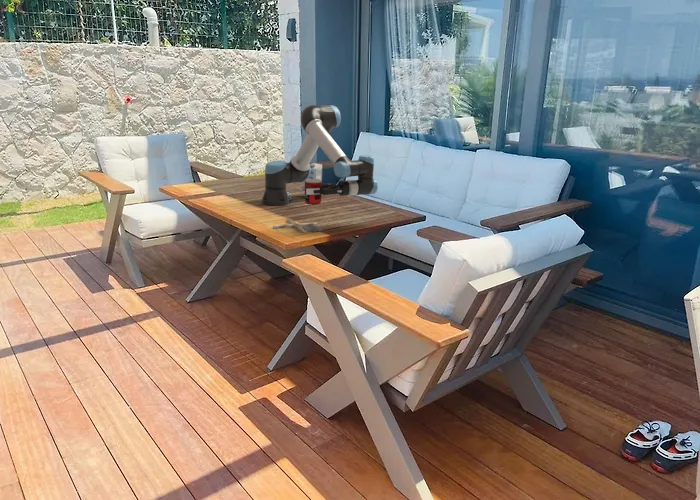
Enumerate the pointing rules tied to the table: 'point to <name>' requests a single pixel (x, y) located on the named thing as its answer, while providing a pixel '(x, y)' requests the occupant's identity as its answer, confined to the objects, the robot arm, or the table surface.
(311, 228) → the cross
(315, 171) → the milk carton
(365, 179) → the robot arm
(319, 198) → the canned food
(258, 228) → the table surface
